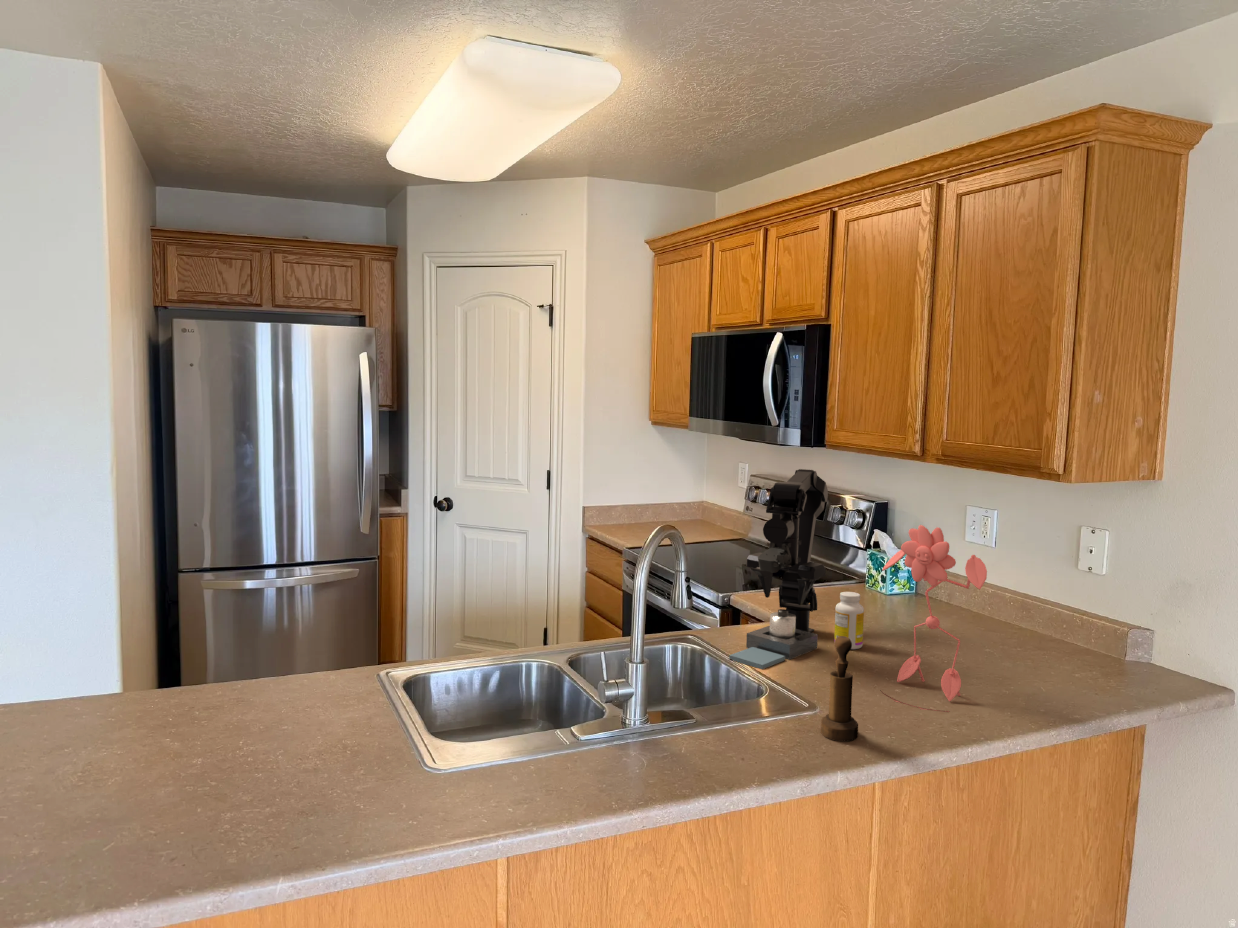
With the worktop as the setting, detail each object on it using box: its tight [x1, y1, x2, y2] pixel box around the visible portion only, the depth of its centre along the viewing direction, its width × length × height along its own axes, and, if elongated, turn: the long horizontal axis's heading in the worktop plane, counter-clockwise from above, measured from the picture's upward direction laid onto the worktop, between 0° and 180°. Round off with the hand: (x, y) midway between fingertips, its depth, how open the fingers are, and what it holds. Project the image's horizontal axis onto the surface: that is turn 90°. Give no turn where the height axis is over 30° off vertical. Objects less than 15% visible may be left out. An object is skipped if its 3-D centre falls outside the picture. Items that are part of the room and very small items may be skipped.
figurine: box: [880, 524, 988, 713], centre depth 170 cm, size 15×26×35 cm, turn 30°
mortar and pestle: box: [820, 636, 859, 742], centre depth 151 cm, size 7×6×18 cm
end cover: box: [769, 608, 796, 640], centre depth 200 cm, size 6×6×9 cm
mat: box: [728, 647, 786, 670], centre depth 191 cm, size 9×9×1 cm
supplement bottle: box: [833, 591, 865, 650], centre depth 202 cm, size 7×7×13 cm
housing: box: [745, 625, 819, 660], centre depth 200 cm, size 12×12×4 cm
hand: (783, 601), depth 199 cm, fingers open, 9 cm apart
